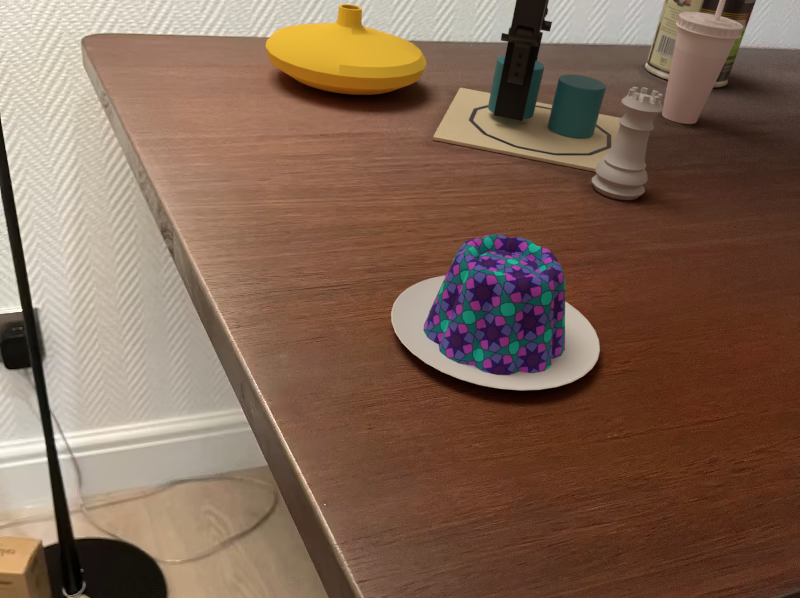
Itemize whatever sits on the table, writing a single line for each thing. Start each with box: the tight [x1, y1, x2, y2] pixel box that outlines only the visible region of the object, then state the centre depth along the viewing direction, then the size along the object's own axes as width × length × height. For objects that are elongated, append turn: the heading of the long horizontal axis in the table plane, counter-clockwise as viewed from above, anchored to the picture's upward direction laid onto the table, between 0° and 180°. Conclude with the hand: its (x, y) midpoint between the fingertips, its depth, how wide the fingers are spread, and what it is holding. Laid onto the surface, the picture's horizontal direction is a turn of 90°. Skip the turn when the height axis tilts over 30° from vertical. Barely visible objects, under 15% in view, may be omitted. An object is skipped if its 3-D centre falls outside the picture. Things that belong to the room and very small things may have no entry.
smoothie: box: [661, 0, 743, 125], centre depth 81 cm, size 6×6×14 cm
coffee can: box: [644, 0, 757, 89], centre depth 96 cm, size 10×10×14 cm
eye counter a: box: [488, 54, 545, 119], centre depth 76 cm, size 4×4×4 cm
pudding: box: [390, 233, 601, 391], centre depth 45 cm, size 12×12×5 cm
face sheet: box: [432, 87, 622, 173], centre depth 77 cm, size 18×16×1 cm
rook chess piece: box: [591, 86, 663, 201], centre depth 65 cm, size 4×4×8 cm
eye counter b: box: [548, 74, 607, 139], centre depth 76 cm, size 4×4×4 cm
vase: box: [265, 3, 428, 96], centre depth 79 cm, size 16×16×7 cm
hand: (511, 108), depth 77 cm, fingers closed on eye counter a, 4 cm apart
